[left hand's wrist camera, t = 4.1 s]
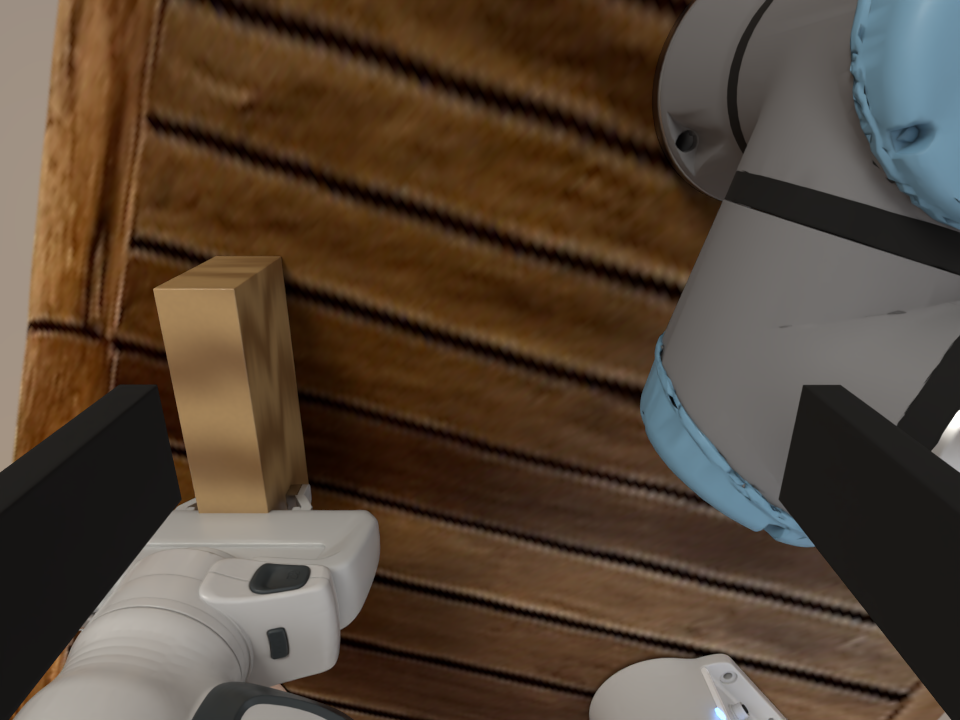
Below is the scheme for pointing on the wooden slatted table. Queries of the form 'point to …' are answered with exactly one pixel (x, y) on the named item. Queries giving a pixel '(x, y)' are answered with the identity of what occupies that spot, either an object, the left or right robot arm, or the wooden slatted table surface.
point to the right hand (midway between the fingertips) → (263, 491)
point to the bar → (234, 382)
